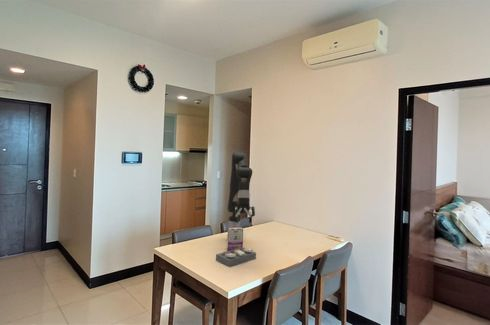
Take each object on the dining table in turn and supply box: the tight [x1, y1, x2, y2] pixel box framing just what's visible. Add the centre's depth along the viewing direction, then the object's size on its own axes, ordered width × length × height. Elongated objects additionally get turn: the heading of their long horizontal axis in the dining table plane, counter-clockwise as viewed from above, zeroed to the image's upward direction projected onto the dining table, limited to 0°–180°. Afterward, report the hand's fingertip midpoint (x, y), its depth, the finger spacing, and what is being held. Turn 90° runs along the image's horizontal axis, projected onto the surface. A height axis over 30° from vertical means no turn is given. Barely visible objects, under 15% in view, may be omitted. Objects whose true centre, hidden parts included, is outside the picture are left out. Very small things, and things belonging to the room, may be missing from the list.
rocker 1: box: [225, 253, 236, 257], centre depth 179 cm, size 6×4×2 cm, turn 44°
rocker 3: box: [243, 247, 254, 252], centre depth 190 cm, size 6×4×2 cm, turn 44°
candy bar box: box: [226, 227, 244, 251], centre depth 205 cm, size 11×5×16 cm, turn 101°
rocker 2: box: [234, 249, 245, 256], centre depth 184 cm, size 6×4×2 cm, turn 44°
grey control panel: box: [215, 247, 257, 268], centre depth 186 cm, size 14×24×4 cm, turn 134°
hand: (243, 223), depth 175 cm, fingers open, 8 cm apart
